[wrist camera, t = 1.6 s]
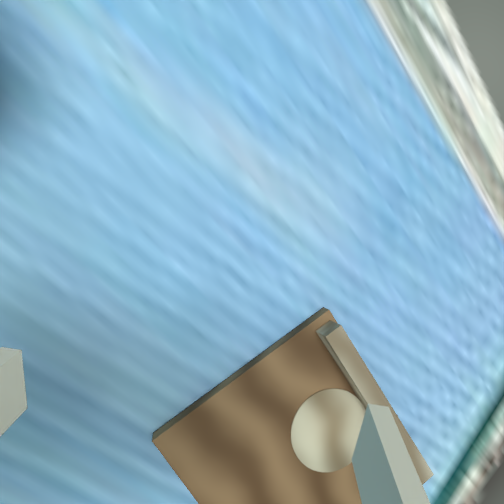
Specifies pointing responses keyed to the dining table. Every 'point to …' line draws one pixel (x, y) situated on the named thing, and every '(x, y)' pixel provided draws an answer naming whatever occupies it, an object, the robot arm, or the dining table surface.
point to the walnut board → (281, 425)
